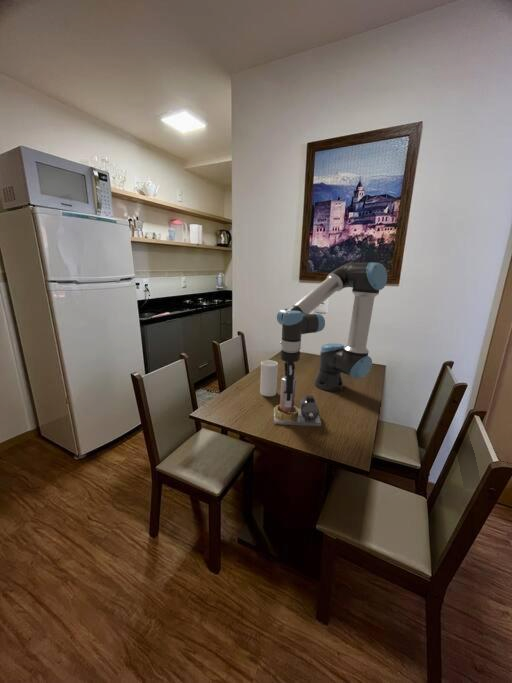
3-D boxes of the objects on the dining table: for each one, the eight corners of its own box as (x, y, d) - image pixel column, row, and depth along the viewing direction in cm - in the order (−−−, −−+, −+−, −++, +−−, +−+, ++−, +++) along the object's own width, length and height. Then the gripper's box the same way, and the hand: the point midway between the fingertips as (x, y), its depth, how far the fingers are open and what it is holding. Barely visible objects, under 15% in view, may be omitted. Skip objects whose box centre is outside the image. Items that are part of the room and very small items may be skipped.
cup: (278, 391, 142) (280, 361, 138) (272, 397, 135) (274, 366, 130) (263, 388, 145) (265, 359, 141) (257, 394, 138) (258, 364, 134)
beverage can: (278, 407, 119) (280, 375, 115) (292, 407, 120) (294, 375, 116) (280, 415, 113) (282, 381, 109) (295, 414, 114) (297, 381, 110)
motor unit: (316, 412, 122) (318, 391, 119) (321, 427, 111) (323, 404, 108) (273, 410, 123) (274, 389, 120) (274, 425, 111) (275, 402, 109)
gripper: (280, 343, 119) (277, 392, 125) (282, 357, 100) (278, 414, 107) (297, 343, 118) (294, 393, 125) (302, 358, 100) (298, 415, 106)
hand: (287, 402), depth 116 cm, fingers closed on beverage can, 6 cm apart
